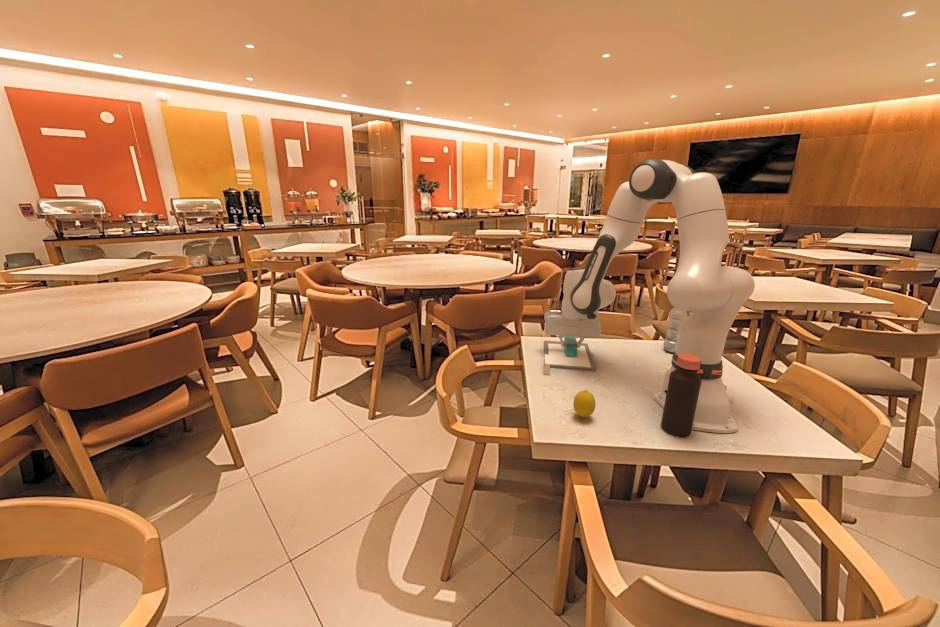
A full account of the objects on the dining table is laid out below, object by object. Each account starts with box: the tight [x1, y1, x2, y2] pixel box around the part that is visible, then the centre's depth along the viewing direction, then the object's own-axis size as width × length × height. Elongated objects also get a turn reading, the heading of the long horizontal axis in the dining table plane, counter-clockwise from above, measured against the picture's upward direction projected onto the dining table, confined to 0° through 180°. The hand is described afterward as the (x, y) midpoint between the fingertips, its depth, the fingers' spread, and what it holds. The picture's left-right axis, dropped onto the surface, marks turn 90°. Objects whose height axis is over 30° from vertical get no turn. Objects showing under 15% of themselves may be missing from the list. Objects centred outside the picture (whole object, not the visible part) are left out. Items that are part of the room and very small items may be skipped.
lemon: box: [573, 389, 596, 418], centre depth 99 cm, size 6×6×8 cm
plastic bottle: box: [663, 306, 689, 354], centre depth 142 cm, size 6×7×20 cm
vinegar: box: [660, 354, 702, 438], centre depth 92 cm, size 7×7×20 cm
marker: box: [563, 336, 578, 357], centre depth 142 cm, size 13×4×4 cm, turn 169°
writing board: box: [543, 340, 597, 372], centre depth 140 cm, size 24×17×1 cm
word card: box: [543, 354, 551, 376], centre depth 128 cm, size 8×2×4 cm, turn 170°
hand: (570, 346), depth 141 cm, fingers closed on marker, 4 cm apart
